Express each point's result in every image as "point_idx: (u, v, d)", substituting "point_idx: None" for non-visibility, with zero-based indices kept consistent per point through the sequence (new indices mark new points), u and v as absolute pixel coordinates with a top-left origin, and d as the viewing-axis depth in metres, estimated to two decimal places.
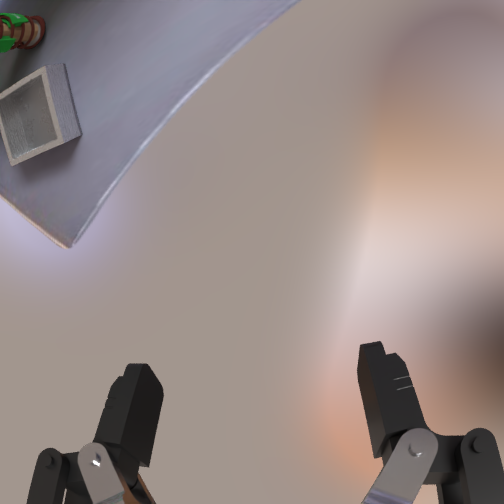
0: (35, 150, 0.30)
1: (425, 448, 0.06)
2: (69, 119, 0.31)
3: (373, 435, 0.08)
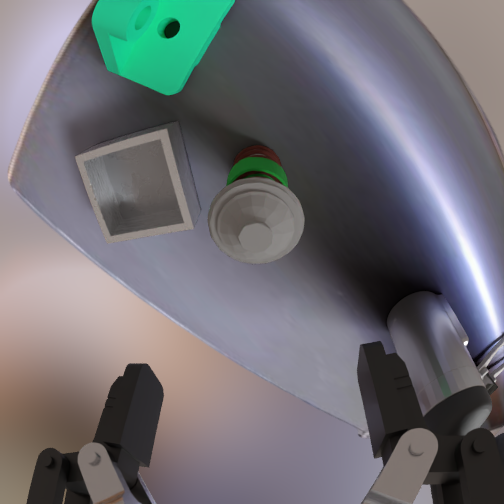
0: (95, 202, 0.29)
1: (425, 448, 0.06)
2: None
3: (373, 435, 0.08)
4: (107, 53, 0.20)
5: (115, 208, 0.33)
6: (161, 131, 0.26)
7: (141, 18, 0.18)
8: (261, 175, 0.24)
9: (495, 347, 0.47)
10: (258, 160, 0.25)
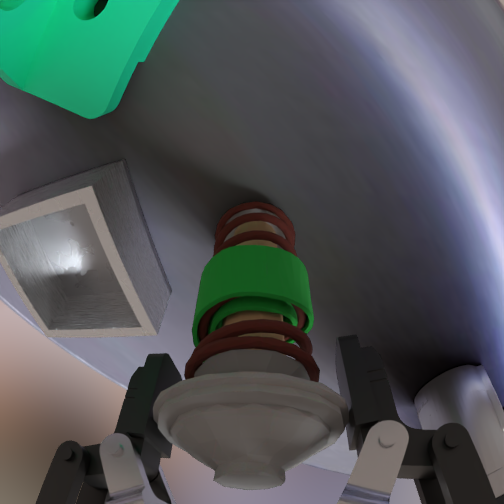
0: (20, 288, 0.18)
1: (395, 439, 0.06)
2: None
3: (348, 427, 0.09)
4: None
5: (54, 285, 0.21)
6: (84, 190, 0.14)
7: None
8: (262, 297, 0.12)
9: None
10: (256, 256, 0.13)
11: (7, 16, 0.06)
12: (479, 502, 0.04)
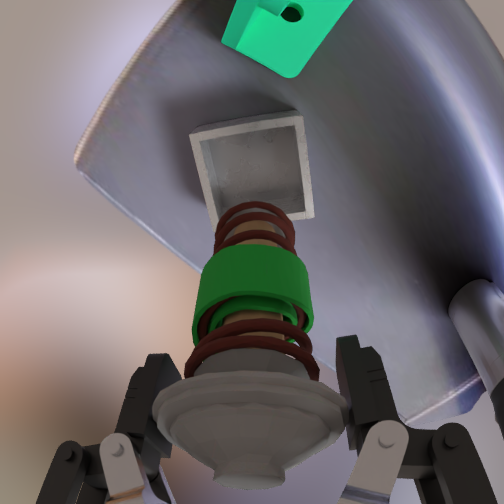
0: (208, 187, 0.29)
1: (395, 439, 0.06)
2: None
3: (348, 427, 0.09)
4: (238, 22, 0.20)
5: (218, 195, 0.33)
6: (296, 117, 0.26)
7: None
8: (262, 296, 0.12)
9: None
10: (256, 255, 0.13)
11: (283, 8, 0.18)
12: (479, 502, 0.04)
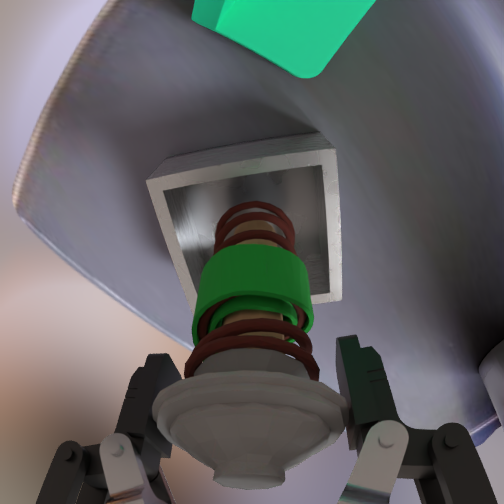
0: (181, 260, 0.19)
1: (395, 439, 0.06)
2: None
3: (348, 427, 0.09)
4: None
5: (201, 260, 0.23)
6: (325, 152, 0.15)
7: None
8: (262, 296, 0.12)
9: None
10: (256, 255, 0.13)
11: None
12: (479, 502, 0.04)
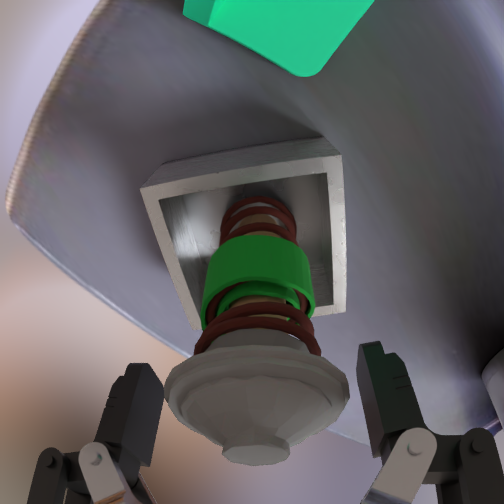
0: (178, 271, 0.18)
1: (424, 448, 0.06)
2: None
3: (372, 434, 0.08)
4: None
5: (199, 270, 0.22)
6: (330, 159, 0.14)
7: None
8: (267, 283, 0.13)
9: None
10: (261, 245, 0.14)
11: None
12: None
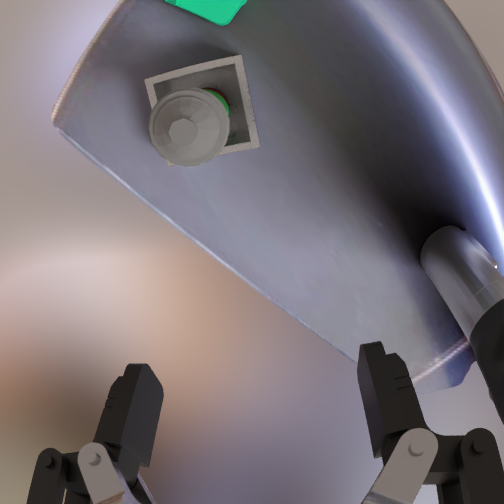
0: None
1: (425, 448, 0.06)
2: None
3: (373, 435, 0.08)
4: None
5: None
6: (236, 57, 0.27)
7: None
8: None
9: None
10: None
11: None
12: None
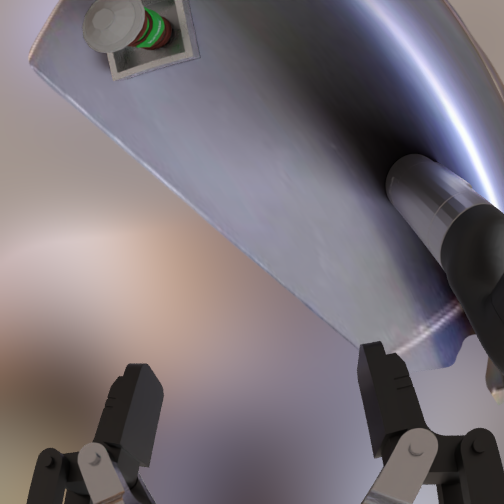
0: None
1: (425, 448, 0.06)
2: (138, 73, 0.33)
3: (373, 435, 0.08)
4: None
5: (124, 59, 0.32)
6: None
7: None
8: None
9: None
10: None
11: None
12: None
